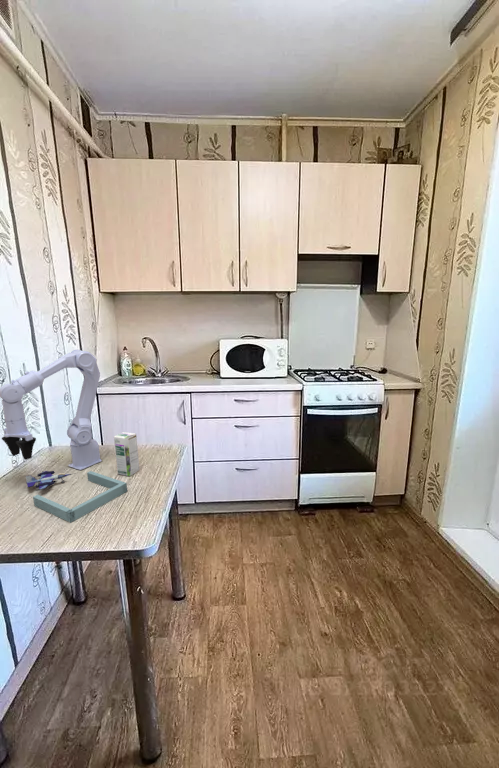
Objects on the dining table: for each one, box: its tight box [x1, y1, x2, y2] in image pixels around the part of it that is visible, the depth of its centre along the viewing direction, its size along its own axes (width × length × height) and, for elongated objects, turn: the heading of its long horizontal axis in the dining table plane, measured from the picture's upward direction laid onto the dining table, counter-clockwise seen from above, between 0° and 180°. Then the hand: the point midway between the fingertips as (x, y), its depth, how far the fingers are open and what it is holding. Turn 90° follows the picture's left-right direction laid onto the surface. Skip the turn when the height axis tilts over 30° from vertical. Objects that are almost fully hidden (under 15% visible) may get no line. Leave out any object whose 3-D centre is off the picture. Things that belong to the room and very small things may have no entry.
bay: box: [32, 470, 128, 523], centre depth 114 cm, size 20×18×3 cm
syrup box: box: [113, 431, 141, 477], centre depth 131 cm, size 6×6×14 cm
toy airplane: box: [25, 470, 77, 492], centre depth 124 cm, size 13×14×4 cm
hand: (21, 456), depth 125 cm, fingers open, 7 cm apart
